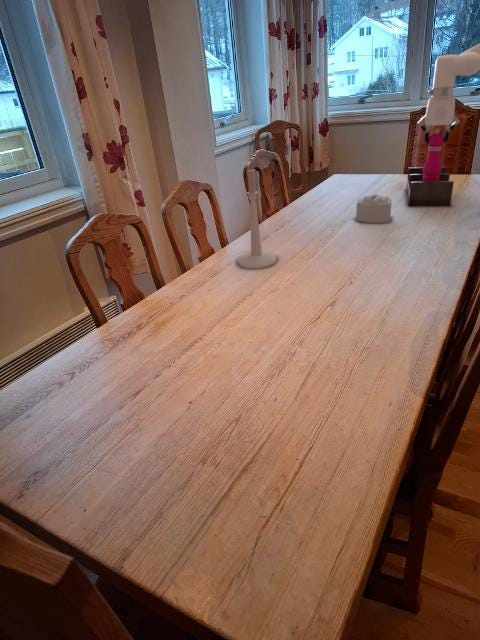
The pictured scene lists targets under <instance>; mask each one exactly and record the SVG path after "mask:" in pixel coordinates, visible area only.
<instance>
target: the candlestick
mask: <svg viewBox="0 0 480 640" xmlns="http://www.w3.org/2000/svg"><path fill="white" fill-rule="evenodd" d="M255 179H256V178H255V169H248V170H247V183H248V191H247V192H246V194H247V195H248V196H247V197H248V200H249V201H250V202H249V215H250V217H249V219H250V222H249V223H250V251H248V252H246V253H244V254H242V255H241V256H240V257H239V258H238V260H237V263H238V265H239V266H240V267H241V268H245V269H250V270H258V269H265V268H268V267H270V266H273V265H274V264H275V263H276V262H277V257H276V255H275V254H273V253H272V252H269V251H266V250H262V248H263V247H262V241H261V234H260V233H261V232H260V225H259V216H258V208H257V203H256V199H257V198H258V193H259V191H257V190H256V180H255Z"/></svg>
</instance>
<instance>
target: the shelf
mask: <svg viewBox="0 0 480 640" xmlns="http://www.w3.org/2000/svg"><path fill="white" fill-rule="evenodd" d="M423 167H424V166H422V167H421V166H419V167H418V166H417V167H408V169H407V180H406V189H405V190H406V197H407V206H408V207H450V206H451V203H452V197H453V196H452V195H453V189H454V183H455V181H454V180H450V176H451V173H447V166H441V167H442V169H441V172H440V173H439V174H438V175H439V180H438V181H430V182H425V181H423V176H424V175H425V174H424V173H423Z"/></svg>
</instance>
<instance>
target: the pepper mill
mask: <svg viewBox="0 0 480 640" xmlns="http://www.w3.org/2000/svg"><path fill="white" fill-rule="evenodd" d="M440 132H441V131H440V129H439V128H436V129H435V130H434V133H432V134H429V140H428V143H427V145H428V149H427V151H428V156H427V160H426V161H425V162H424V164H423V166H422V167H423V173H424V174H425V175H424V176H423V181H425V182H430V181H438V180H439V175H438V174H439V173H440V172H441V169H442V167H443V166H442V162H441V160H440V154H441V150H442V147H443V146H442V145H443V144H444V134H442V133H440Z"/></svg>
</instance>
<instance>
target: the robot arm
mask: <svg viewBox="0 0 480 640" xmlns="http://www.w3.org/2000/svg"><path fill="white" fill-rule="evenodd" d="M434 64H435V65H434V72H433V73H434V74H433V79H432V80H433V81H432V87H431V89H430V90H429V89H428V90H427V95H430V97H429V98H428V100H427V105H426V109H425V115H424V116H423V117H421V118H420V120H419V121H418V122H417V123H416V124H417V126H418V127H419V128H420V129H421V130H422V131H423V132H424V138H423V141H424V142H425V145H426V144H427V145H428V140H429V137H430V129H431V127H433V126H434V127H435V126H444V127H445V131H444V133H443V136H444V142H443V144H447V141H448V140H449V136H450V132H451V131H452V130H453V129H454V128H455V127H456V126H457V125H459V124H460V123H461V120H460V119H459V118H458V117H457V115H456V114H455V110H456V96H455V95H454V90H455V82H456V78H457V77H456V76H465V77H469V76H474V75H475V74H477V73H478V72H479V71H480V43H478V44H475V45H474V46H472V47H470V48H468V49H466V50H464V51H462V52H461V53H459V54H444V55H443V54H442V55H439V56H438V57H437V58H436V60H435V63H434ZM423 123H424V124H425V125H426V126H425V125H424V124H423Z"/></svg>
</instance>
